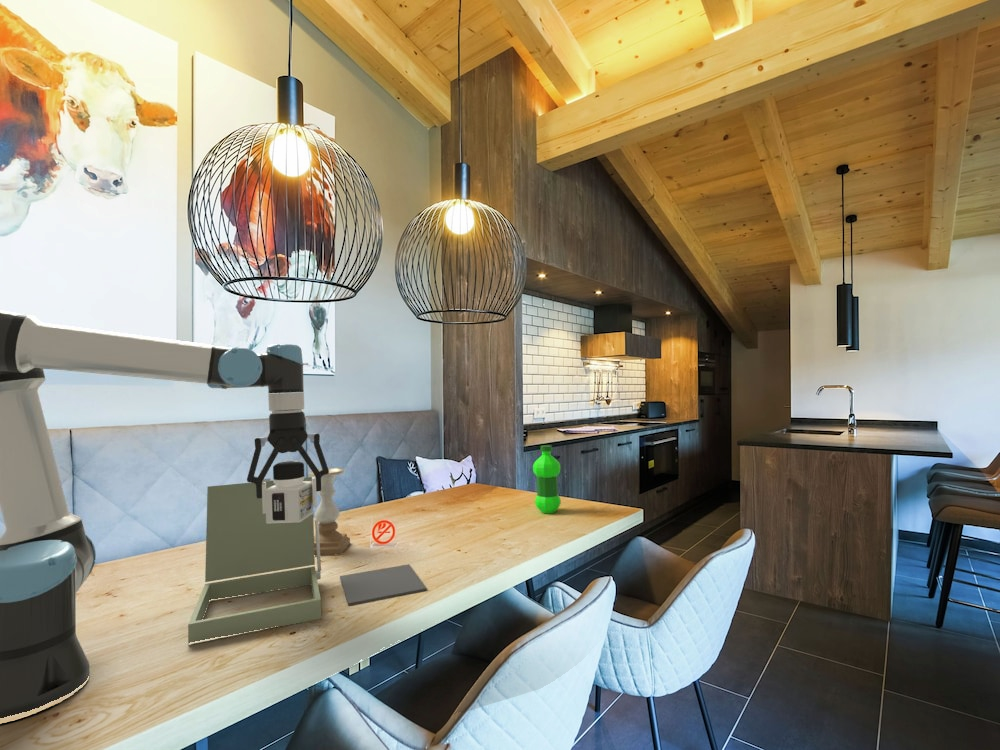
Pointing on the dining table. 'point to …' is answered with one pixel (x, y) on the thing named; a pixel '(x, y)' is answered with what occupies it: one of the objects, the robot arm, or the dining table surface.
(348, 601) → the mat
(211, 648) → the dining table surface
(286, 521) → the container
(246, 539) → the lid
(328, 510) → the candle holder
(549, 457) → the plastic bottle
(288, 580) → the case
